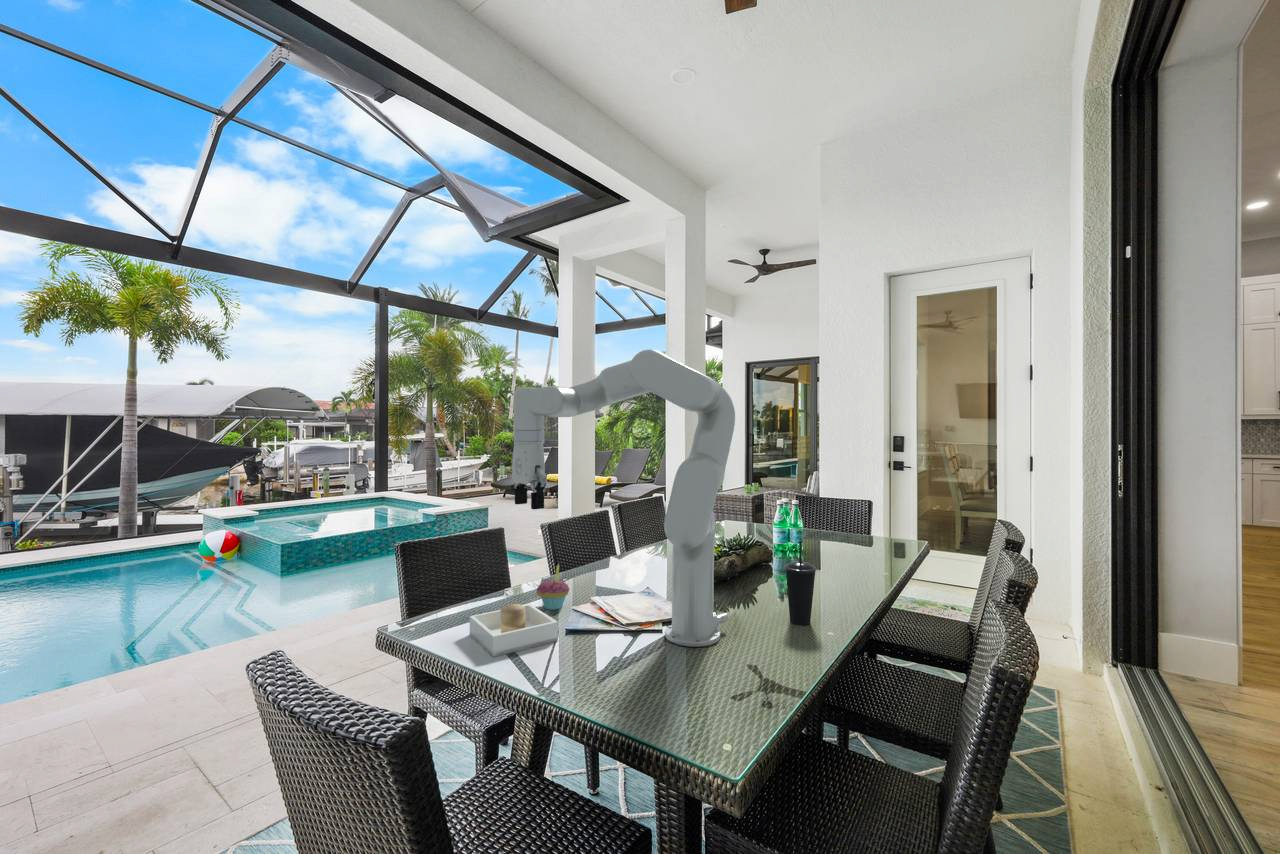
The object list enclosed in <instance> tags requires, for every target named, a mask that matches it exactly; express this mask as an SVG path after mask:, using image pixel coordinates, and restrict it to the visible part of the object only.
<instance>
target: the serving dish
mask: <svg viewBox="0 0 1280 854" xmlns="http://www.w3.org/2000/svg"><path fill="white" fill-rule="evenodd" d="M523 605H524V606H525V628H523V629H518V630H514V631H509V632H505V633H501V609H498V610H494V611H489V612H483V613H479V614H474V615H473V614H472V615H470V616H469V635H470V636H471V638H473V640H475V641H476V642H477V644H479V645H480V646H481V647H482V648H483V649H484V650H485V651H486V652H487V653H488V654H490V656H492V658H495V657H499V656H503V655H507V654H510V653H515V652H519V651H522V650H527V649H531V648H535V647H539V646H543V645H547V644H551V643H554V642H558V641H559V640H558V639H559V632H558V630H559V629H558V625H559V622H558V621H557V620H556V619H554V618H552V617H551V616H550V615H548V614H546V613H545V612H543V611H542V610H540V609H539V608H537V607H535V606H534V605H533V604H531V603H529V604H523Z"/></svg>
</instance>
